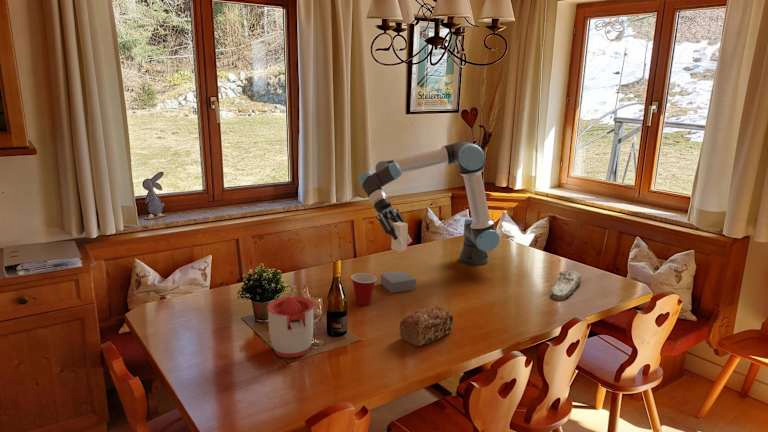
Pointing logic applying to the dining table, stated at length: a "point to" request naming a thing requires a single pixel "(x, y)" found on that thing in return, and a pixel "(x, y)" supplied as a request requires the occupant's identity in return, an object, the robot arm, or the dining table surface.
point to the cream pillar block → (402, 232)
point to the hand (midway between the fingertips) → (405, 243)
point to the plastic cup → (363, 287)
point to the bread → (426, 325)
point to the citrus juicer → (291, 325)
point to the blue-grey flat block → (398, 281)
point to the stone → (565, 284)
